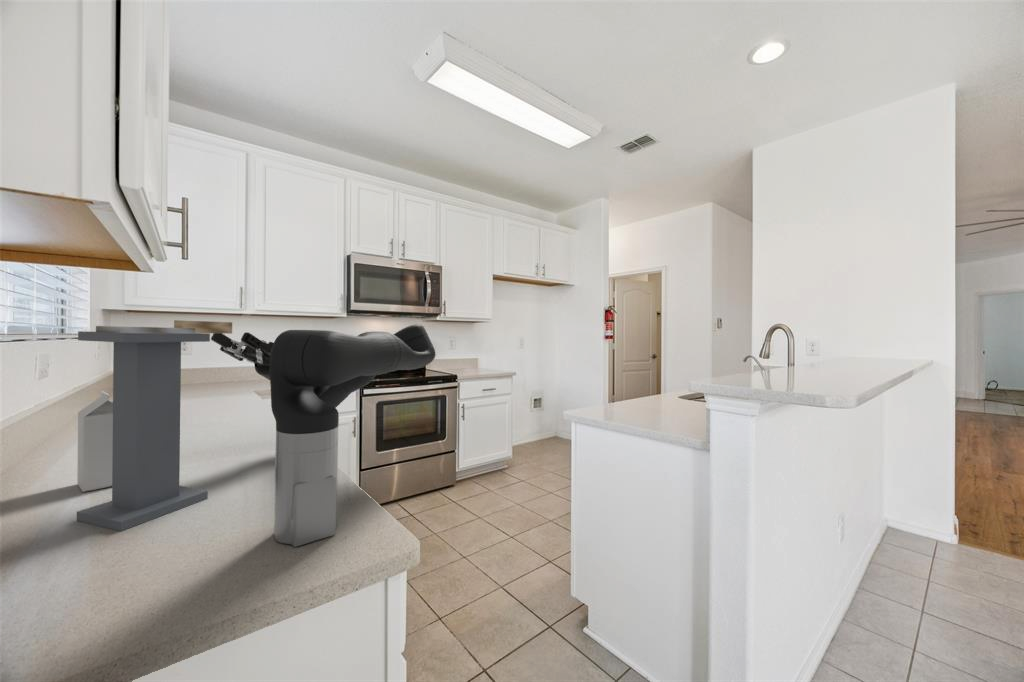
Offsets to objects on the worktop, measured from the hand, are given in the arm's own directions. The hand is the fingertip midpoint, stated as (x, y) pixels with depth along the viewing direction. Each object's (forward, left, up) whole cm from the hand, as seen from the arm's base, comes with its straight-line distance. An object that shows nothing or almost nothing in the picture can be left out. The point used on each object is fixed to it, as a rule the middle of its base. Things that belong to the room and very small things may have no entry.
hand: (228, 335), depth 89 cm
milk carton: (+13, +19, -32) cm, 40 cm away
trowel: (-5, +9, 0) cm, 11 cm away
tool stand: (-8, +13, -32) cm, 35 cm away
